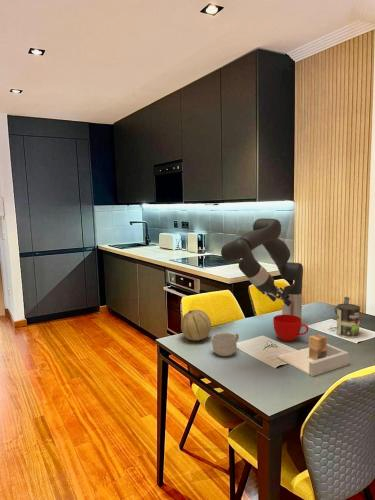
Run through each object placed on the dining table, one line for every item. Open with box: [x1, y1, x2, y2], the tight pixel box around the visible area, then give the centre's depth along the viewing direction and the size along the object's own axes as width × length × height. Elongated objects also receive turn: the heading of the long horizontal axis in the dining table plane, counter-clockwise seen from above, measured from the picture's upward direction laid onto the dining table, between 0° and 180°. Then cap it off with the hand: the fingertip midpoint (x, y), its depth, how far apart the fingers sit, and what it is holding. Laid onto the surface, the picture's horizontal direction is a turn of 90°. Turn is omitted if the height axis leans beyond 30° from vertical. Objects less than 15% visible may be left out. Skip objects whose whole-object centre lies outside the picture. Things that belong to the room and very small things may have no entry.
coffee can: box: [336, 303, 361, 339], centre depth 176 cm, size 10×10×14 cm
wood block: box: [308, 333, 328, 360], centre depth 149 cm, size 5×5×9 cm
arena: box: [276, 343, 350, 377], centre depth 148 cm, size 20×20×5 cm
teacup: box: [211, 332, 240, 357], centre depth 159 cm, size 14×11×8 cm
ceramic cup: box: [272, 314, 309, 342], centre depth 171 cm, size 13×17×10 cm
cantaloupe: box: [180, 309, 212, 341], centre depth 175 cm, size 15×15×15 cm
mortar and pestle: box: [334, 296, 351, 316], centre depth 198 cm, size 11×9×12 cm
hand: (282, 302), depth 148 cm, fingers open, 8 cm apart
